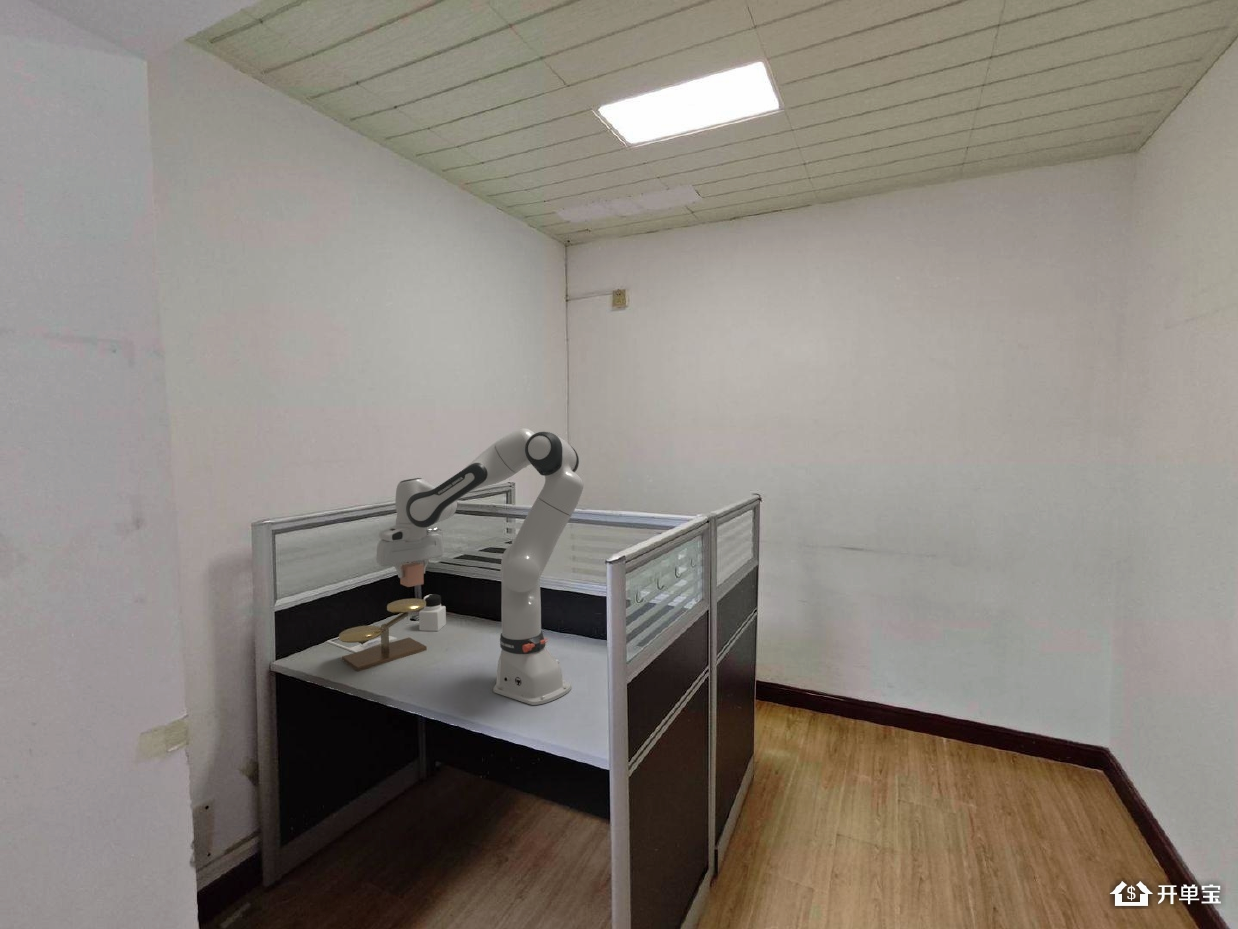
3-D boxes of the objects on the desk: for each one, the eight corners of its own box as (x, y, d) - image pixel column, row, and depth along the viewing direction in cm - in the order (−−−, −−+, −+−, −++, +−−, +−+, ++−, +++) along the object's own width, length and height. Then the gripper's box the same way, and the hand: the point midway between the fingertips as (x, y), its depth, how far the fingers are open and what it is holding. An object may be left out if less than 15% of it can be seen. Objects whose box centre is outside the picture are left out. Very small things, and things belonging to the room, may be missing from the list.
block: (423, 583, 168) (423, 564, 167) (408, 587, 164) (407, 567, 164) (415, 581, 171) (415, 562, 171) (400, 584, 168) (400, 564, 167)
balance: (433, 647, 181) (432, 603, 180) (349, 674, 161) (347, 624, 160) (416, 638, 189) (415, 596, 188) (333, 662, 169) (332, 615, 169)
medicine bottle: (446, 624, 203) (445, 593, 203) (438, 631, 196) (437, 598, 196) (427, 624, 204) (427, 592, 203) (419, 630, 197) (418, 598, 196)
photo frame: (356, 651, 176) (326, 640, 186) (356, 655, 176) (326, 643, 186) (396, 637, 189) (366, 627, 198) (396, 640, 189) (366, 630, 198)
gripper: (437, 525, 177) (437, 568, 177) (373, 533, 162) (374, 579, 162) (447, 528, 172) (447, 571, 173) (383, 536, 157) (383, 583, 158)
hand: (411, 575), depth 167 cm, fingers closed on block, 5 cm apart
